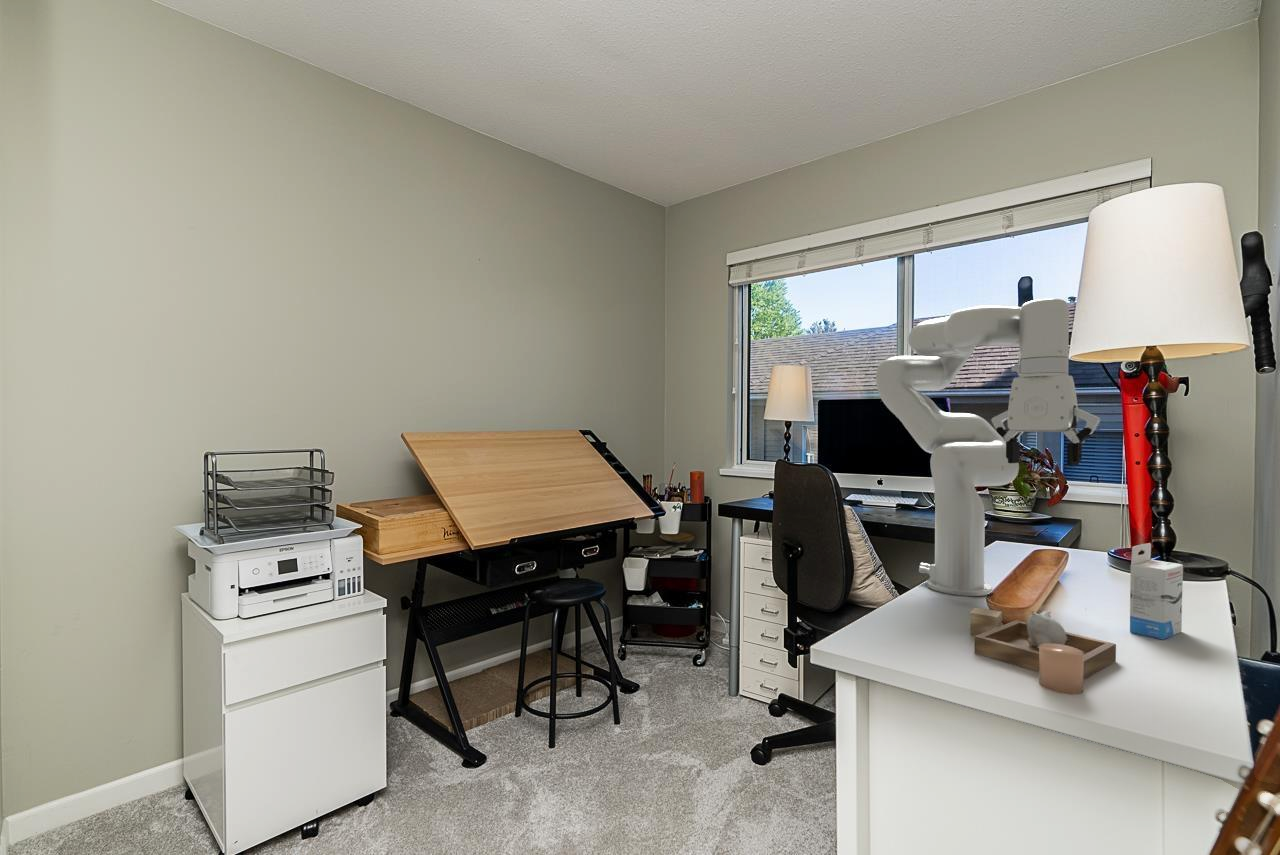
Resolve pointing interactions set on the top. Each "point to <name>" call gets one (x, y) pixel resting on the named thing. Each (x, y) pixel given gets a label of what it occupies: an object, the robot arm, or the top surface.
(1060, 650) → the oval beige cylinder
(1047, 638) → the figurine
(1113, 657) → the walnut tray
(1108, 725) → the top surface
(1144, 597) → the ink box
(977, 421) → the robot arm
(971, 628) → the oak block
